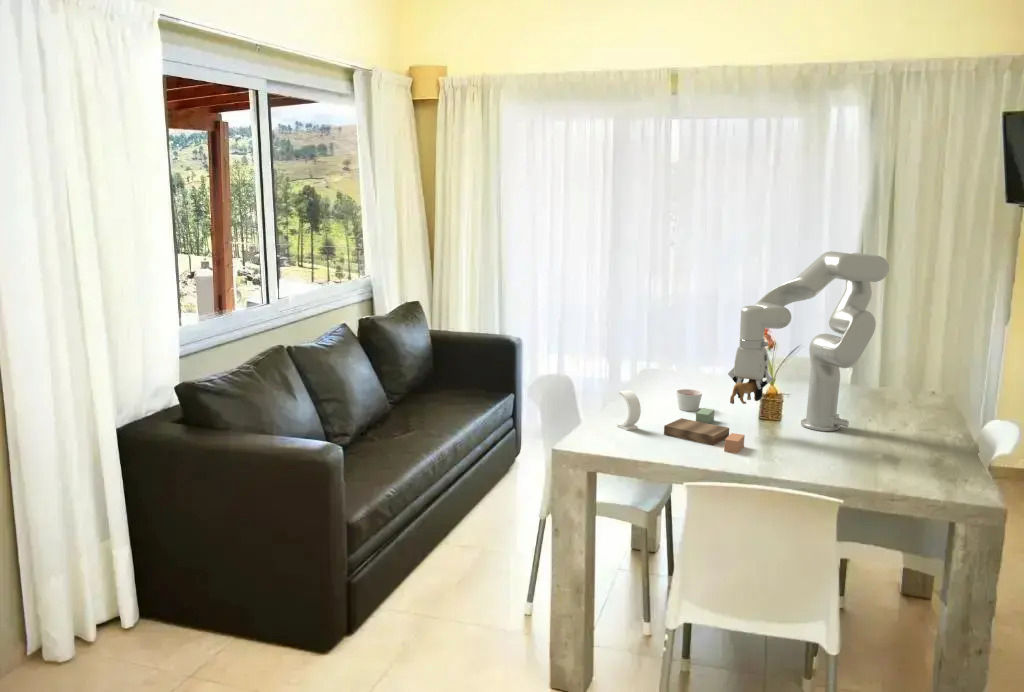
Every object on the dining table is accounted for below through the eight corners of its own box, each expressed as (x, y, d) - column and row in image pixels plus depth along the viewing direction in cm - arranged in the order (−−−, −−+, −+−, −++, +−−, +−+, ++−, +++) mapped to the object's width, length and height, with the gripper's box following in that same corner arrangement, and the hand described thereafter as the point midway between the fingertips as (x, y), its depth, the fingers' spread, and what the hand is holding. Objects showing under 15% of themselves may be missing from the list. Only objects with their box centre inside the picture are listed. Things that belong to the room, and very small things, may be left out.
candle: (684, 404, 313) (686, 388, 312) (706, 409, 306) (707, 392, 305) (670, 408, 306) (671, 391, 305) (691, 413, 300) (693, 396, 299)
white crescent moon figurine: (627, 424, 284) (629, 390, 282) (639, 429, 280) (641, 393, 277) (617, 426, 282) (618, 391, 280) (629, 431, 277) (630, 395, 275)
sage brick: (702, 419, 294) (703, 408, 294) (713, 420, 292) (714, 409, 292) (695, 424, 287) (696, 413, 287) (707, 426, 286) (707, 414, 285)
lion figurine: (751, 396, 283) (751, 370, 282) (765, 398, 279) (765, 372, 278) (725, 404, 274) (725, 377, 272) (739, 407, 270) (739, 379, 268)
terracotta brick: (730, 445, 265) (731, 432, 264) (743, 447, 263) (744, 434, 263) (724, 451, 258) (724, 439, 258) (737, 454, 256) (738, 441, 256)
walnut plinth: (728, 436, 273) (729, 427, 273) (712, 445, 264) (713, 436, 263) (680, 426, 283) (681, 418, 283) (663, 434, 274) (664, 425, 273)
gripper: (781, 345, 272) (779, 400, 275) (731, 339, 282) (729, 392, 286) (773, 349, 266) (770, 405, 270) (721, 343, 276) (720, 397, 280)
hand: (749, 398), depth 278 cm, fingers closed on lion figurine, 5 cm apart
